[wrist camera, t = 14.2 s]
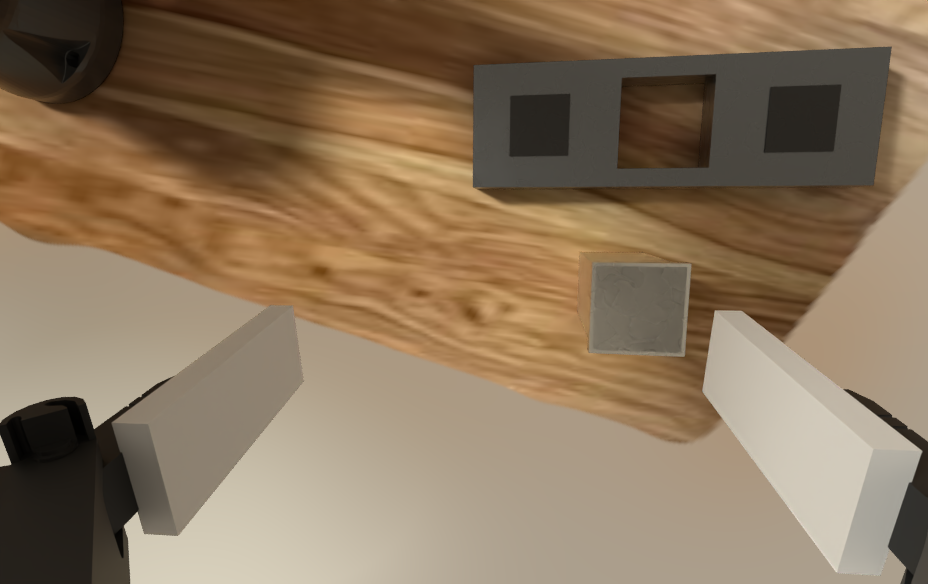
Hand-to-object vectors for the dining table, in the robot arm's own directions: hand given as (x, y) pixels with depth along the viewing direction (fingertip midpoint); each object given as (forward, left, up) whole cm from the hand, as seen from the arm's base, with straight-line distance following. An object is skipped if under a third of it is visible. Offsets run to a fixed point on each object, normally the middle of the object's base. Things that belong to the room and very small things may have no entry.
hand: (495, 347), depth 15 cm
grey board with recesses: (+10, +11, -26) cm, 30 cm away
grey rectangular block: (+7, -1, -26) cm, 27 cm away
